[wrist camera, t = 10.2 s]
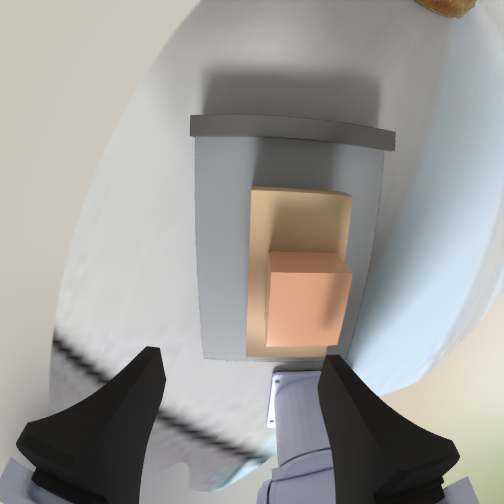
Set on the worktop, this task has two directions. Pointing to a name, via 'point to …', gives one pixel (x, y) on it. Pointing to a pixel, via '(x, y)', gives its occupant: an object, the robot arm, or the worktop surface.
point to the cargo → (305, 298)
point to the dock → (275, 175)
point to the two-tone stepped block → (289, 248)
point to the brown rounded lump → (448, 6)
